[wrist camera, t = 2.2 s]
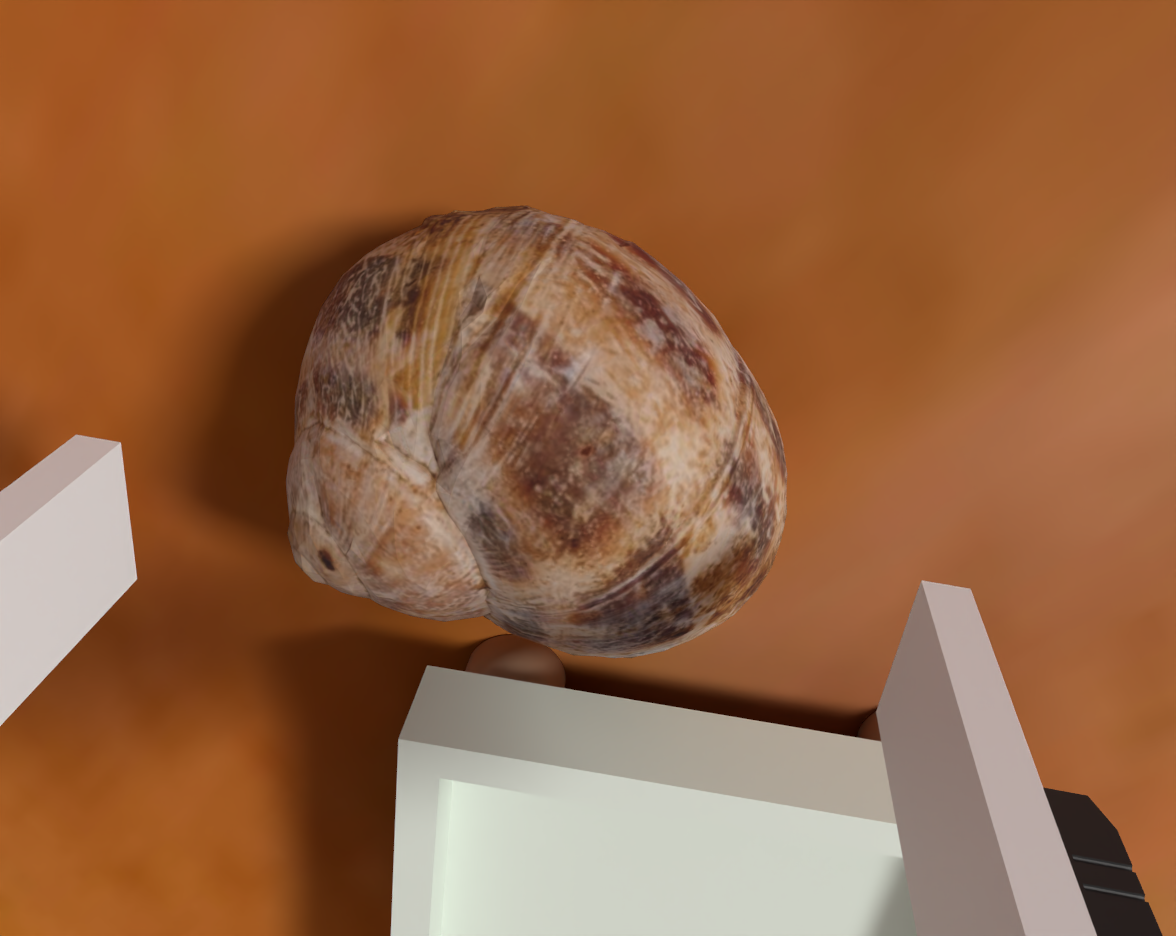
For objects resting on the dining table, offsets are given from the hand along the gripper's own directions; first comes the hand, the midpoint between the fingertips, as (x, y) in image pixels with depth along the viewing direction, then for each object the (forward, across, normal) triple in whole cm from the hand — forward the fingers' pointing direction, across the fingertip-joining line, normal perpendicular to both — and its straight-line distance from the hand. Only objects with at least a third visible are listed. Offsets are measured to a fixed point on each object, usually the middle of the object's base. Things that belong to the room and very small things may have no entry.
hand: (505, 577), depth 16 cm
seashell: (+8, 0, -1) cm, 9 cm away
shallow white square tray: (+8, +5, -14) cm, 17 cm away
